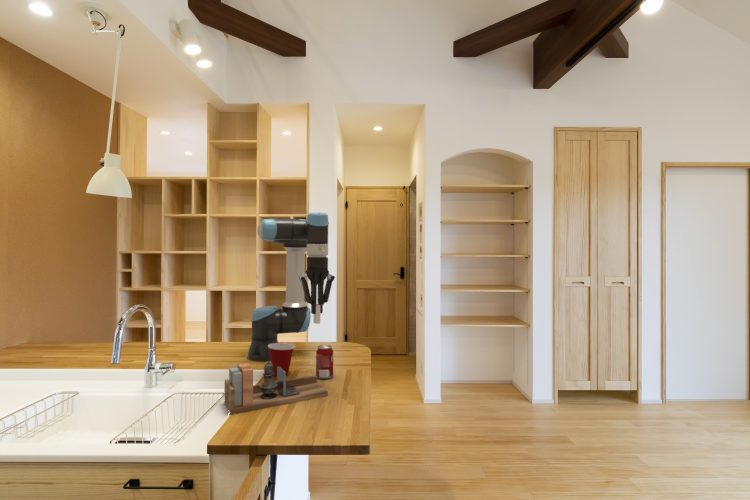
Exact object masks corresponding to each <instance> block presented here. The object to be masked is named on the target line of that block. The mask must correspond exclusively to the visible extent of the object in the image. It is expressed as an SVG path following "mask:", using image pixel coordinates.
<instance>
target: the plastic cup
mask: <svg viewBox="0 0 750 500" xmlns="http://www.w3.org/2000/svg"><path fill="white" fill-rule="evenodd" d="M268 348H269V351H270V357H271V361H270V363H272V364H273V373H274V375H273V377H276V378H277V367H281V368H282V369H283V370H284V371H285V372H286V377H288V375H289V373H290V367H291V364H292V363H291V361H292V357H293V356H292V355H293V353H294V350H295V349H296V345H294V344H291V343H286V342H284V343H283V342H278V343H273V344H269V345H268Z"/></svg>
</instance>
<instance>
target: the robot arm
mask: <svg viewBox="0 0 750 500" xmlns="http://www.w3.org/2000/svg"><path fill="white" fill-rule="evenodd" d="M328 215H329V214H327V213H326V212H308V213H307V215H306V219H303V218H280V217H279V218H278V217H277V218H264V219H262V220H261V222H260V223H259V224H258V227H257V234H258V236H259V238H260V239H262V241H264V242H268V243H272V244H283V246H282V247H283V248H284V249H285V251H286V260H285V261H286V268H285V269H286V270H285V271H286V272H285V301H284V302H283V303H282V306H281V307H282V308H279V307H278V305H266V306H265V305H264V306H260V307H257V308H255V309H254V310H252V312H251V320H250V321H251V342H250V345H249V348H248V350H247V356H246V357H247V360H249V361H253V362H268V361H270V362H271V357H270V351H269V348H268V345H269V344H273V343H279V340H278V335H279V334H296V333H297V334H299V333H305V332H307V331H308V329H309V327H310V323H311V317H312V316H311V315H313V323H314V324H316V325H318V324H321V314H323V306H324V305H325V303H328V302H329V298H330V293H331V289H332V286H333V282H334V281H335V279H336V277H335V276H334V275H332V274H331V273H330V271H329V258H328V255H329V224H330V222H329V216H328ZM306 256H307V257H306ZM305 265H306V266H305ZM305 267H306V270H305ZM308 280H309V282H308ZM325 281H326V283H325ZM309 283H310V288H309ZM324 286H325V287H324ZM308 304H310V306H311V307H309V306H308Z"/></svg>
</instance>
